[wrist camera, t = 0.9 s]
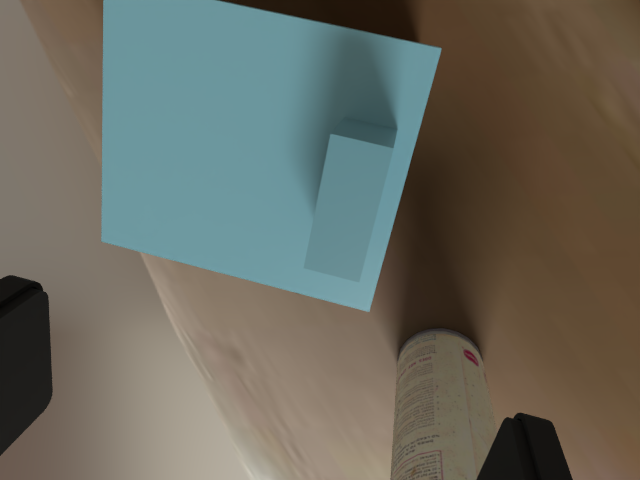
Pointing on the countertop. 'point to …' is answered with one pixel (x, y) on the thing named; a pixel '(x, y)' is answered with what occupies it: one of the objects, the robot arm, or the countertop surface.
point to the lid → (258, 141)
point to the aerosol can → (441, 409)
